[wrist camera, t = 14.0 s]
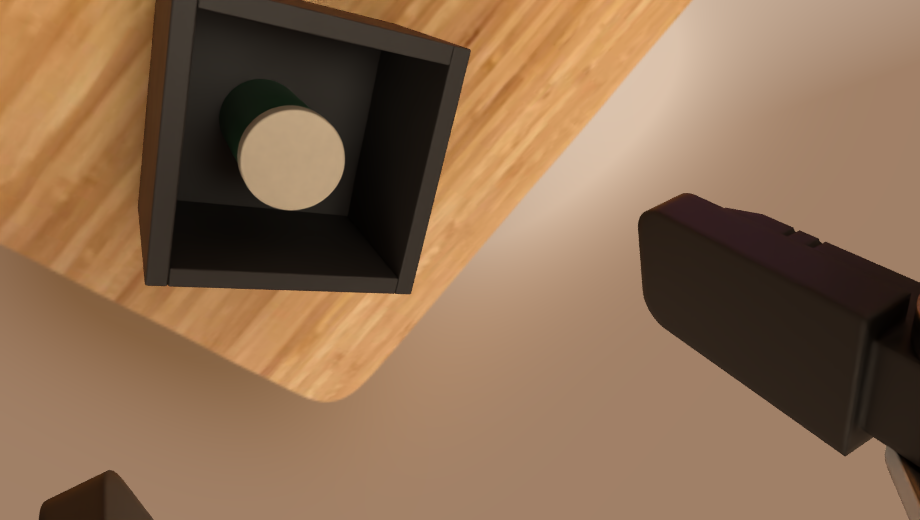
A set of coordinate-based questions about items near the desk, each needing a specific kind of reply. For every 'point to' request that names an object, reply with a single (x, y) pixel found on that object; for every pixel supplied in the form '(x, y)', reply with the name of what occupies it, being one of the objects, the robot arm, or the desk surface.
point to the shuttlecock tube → (281, 145)
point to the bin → (327, 93)
